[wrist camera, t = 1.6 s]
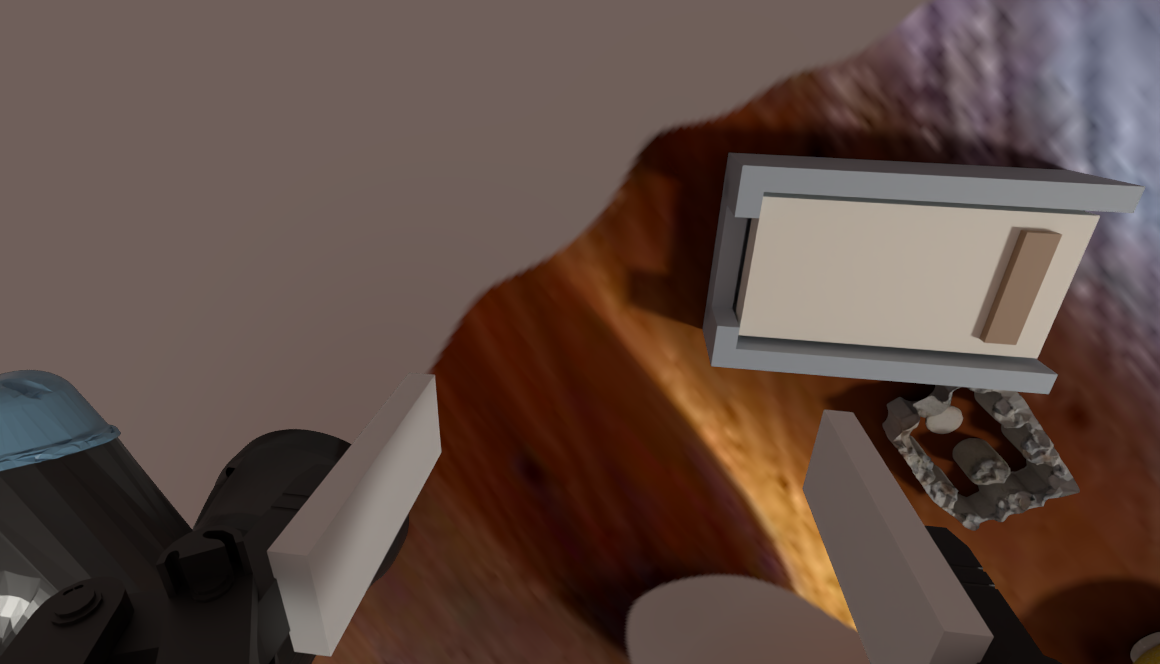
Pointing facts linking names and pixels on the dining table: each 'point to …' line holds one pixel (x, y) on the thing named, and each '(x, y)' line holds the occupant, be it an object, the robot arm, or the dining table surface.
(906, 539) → the robot arm
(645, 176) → the dining table surface
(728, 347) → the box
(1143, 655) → the bowl
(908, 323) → the lid
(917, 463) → the egg carton
